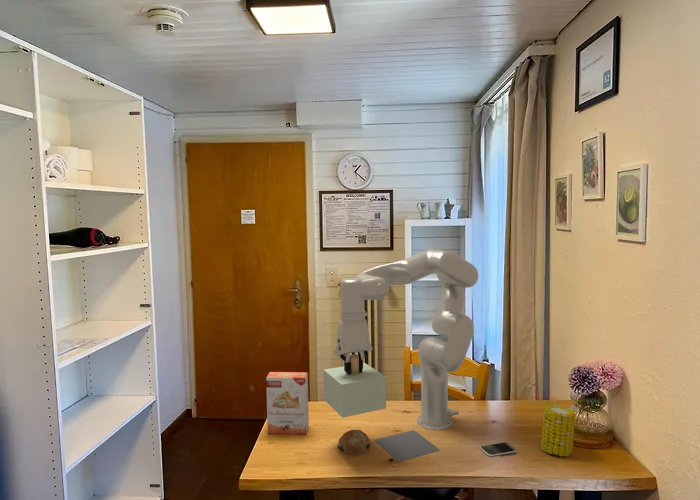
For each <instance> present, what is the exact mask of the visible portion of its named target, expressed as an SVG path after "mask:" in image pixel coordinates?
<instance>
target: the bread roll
mask: <svg viewBox="0 0 700 500" xmlns="http://www.w3.org/2000/svg"><path fill="white" fill-rule="evenodd" d="M370 444H371V443H370V438H369V436H368V435H367V433H365V432H364V431H362V429H350V430H348V431H345V432H344V433H343V434H342V435H341V436H340V437H339V438H338V443H337V448H338V449H339V450H340V451H341V452H343V453H344V454H347V455H350V456H358V455H364V454H366V453H367V452H369V449H370Z"/></svg>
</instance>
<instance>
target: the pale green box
mask: <svg viewBox="0 0 700 500" xmlns="http://www.w3.org/2000/svg"><path fill="white" fill-rule="evenodd" d="M349 362H350V363H351V374H350V375H349V374H347V373H346V372H345V371H344V365H343V366H338V367H337V366H336V367H331V368H326V369H323V397H324V398H323V399H324V400H323V401H325V402H326V404H328V405H329V407H331V408H332V410H334V411H335V412H336V413H337V414H338V415H339V416H340V417H341V418H348V417H352V416H357V415H360V414H366V413H371V412H377V411H379V410H385V409H387V376H386V375H384V374H383V373H381V372H380V371H378V370H376V369H375V368H374V367H371V366H370V365H369V364H367V363H365V362H363V369H362V373H360V372H359V356H358V355H357V354H350V358H349Z"/></svg>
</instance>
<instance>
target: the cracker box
mask: <svg viewBox="0 0 700 500" xmlns="http://www.w3.org/2000/svg"><path fill="white" fill-rule="evenodd" d="M308 377H309V374H308V372H301V371H300V372H297V371H289V372H288V371H269V372H268V374H267V376H266V377H265V378H266V380H265V381H266V383H265V384H266V417H267V418H266V419H267V421H266V422H267V423H266V424H267V434H274V435H275V434H277V435H279V434H281V435H283V434H284V435H307V433H308V430H309V427H310V426H309V425H310V424H309V422H310V421H309V417H310V416H309V384H308V383H309V381H308V380H309V379H308Z"/></svg>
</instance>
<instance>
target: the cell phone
mask: <svg viewBox="0 0 700 500" xmlns="http://www.w3.org/2000/svg"><path fill="white" fill-rule="evenodd" d="M479 449H480V451H482V452H483V453H484V455H486V456H488V457H490V458H493V457H504V456H510V455H515V454H518V453H519V450H518V449H517V448H515V447H514V446H513V445H511V444H510V443H509V441H504V442H497V443H493V444H487V445H481V446H480V447H479Z"/></svg>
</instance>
